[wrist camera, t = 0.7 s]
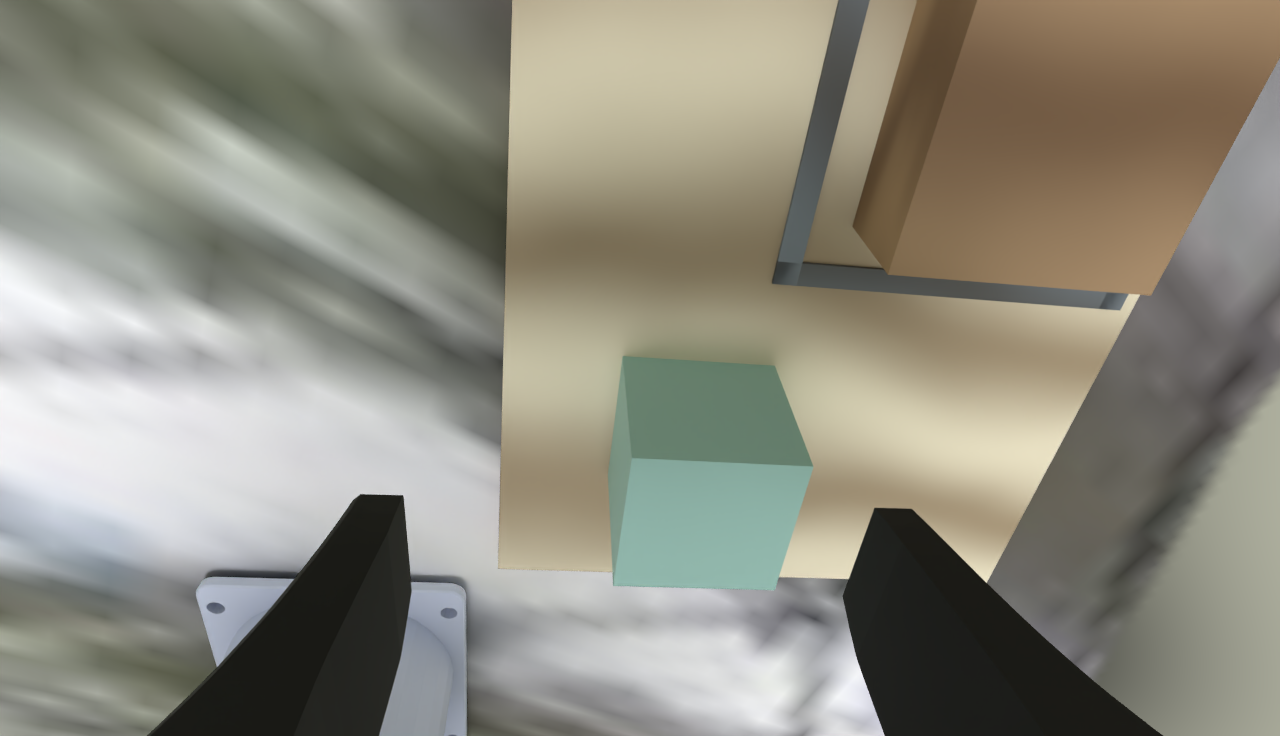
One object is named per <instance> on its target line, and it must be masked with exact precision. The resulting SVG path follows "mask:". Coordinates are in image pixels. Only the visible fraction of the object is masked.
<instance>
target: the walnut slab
mask: <svg viewBox="0 0 1280 736" xmlns="http://www.w3.org/2000/svg"><path fill="white" fill-rule="evenodd" d="M1279 58H1280V0H917V3H916V6H915V10H914V13H913V17H912V20H911V24H910V27H909V31H908V34H907V37H906V41H905V44H904V48H903V51H902V55H901V58H900V62H899V65H898V69H897V72H896V76H895V79H894V83H893V86H892V90H891V93H890V97H889V100H888V104H887V107H886V111H885V114H884V118H883V121H882V125H881V128H880V132H879V135H878V138H877V142H876V145H875V149H874V152H873V156H872V159H871V163H870V166H869V170H868V173H867V177H866V180H865V184H864V187H863V191H862V194H861V198H860V201H859V205H858V208H857V212H856V215H855V219H854V222H853V226H852V227H853V228H854V229H855V231H856V232H857V234H858V235H859V236H860V238H861V239H862V240H863V242H864V243H865V244H866V246H867V247H868V248H869V250H870V251H871V253H872V254H873V255H874V257H875V258H876V259H877V261H878V262H879V263H880V265H881V266H882V267H883V269H884V270H885V272H886V273H887V274H888V275H898V276H911V277H923V278H936V279H949V280H961V281H974V282H986V283H999V284H1012V285H1024V286H1037V287H1049V288H1062V289H1075V290H1087V291H1100V292H1113V293H1125V294H1138V295H1150V296H1151V294H1152V292H1153V291H1154V289H1155V287H1156V285H1157V283H1158V281H1159V279H1160V278H1161V276H1162V274H1163V272H1164V270H1165V268H1166V267H1167V265H1168V263H1169V261H1170V259H1171V257H1172V256H1173V254H1174V252H1175V250H1176V248H1177V246H1178V244H1179V243H1180V241H1181V239H1182V237H1183V235H1184V233H1185V232H1186V230H1187V228H1188V226H1189V224H1190V222H1191V220H1192V219H1193V217H1194V215H1195V213H1196V211H1197V209H1198V208H1199V206H1200V204H1201V202H1202V200H1203V198H1204V196H1205V195H1206V193H1207V191H1208V189H1209V187H1210V185H1211V184H1212V182H1213V180H1214V178H1215V176H1216V174H1217V172H1218V171H1219V169H1220V167H1221V165H1222V163H1223V161H1224V160H1225V158H1226V156H1227V154H1228V152H1229V150H1230V148H1231V147H1232V145H1233V143H1234V141H1235V139H1236V137H1237V136H1238V134H1239V132H1240V130H1241V128H1242V126H1243V124H1244V123H1245V121H1246V119H1247V117H1248V115H1249V113H1250V112H1251V110H1252V108H1253V106H1254V104H1255V102H1256V100H1257V99H1258V97H1259V95H1260V93H1261V91H1262V89H1263V88H1264V86H1265V84H1266V82H1267V80H1268V78H1269V76H1270V75H1271V73H1272V71H1273V69H1274V67H1275V65H1276V64H1277V62H1278V60H1279Z"/></svg>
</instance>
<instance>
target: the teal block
mask: <svg viewBox="0 0 1280 736" xmlns="http://www.w3.org/2000/svg"><path fill="white" fill-rule="evenodd" d="M813 467H814V466H813V464H812V461H811V459H810V456H809V453H808V451H807V448H806V446H805V443H804V440H803V438H802V435H801V433H800V430H799V427H798V425H797V422H796V420H795V417H794V414H793V412H792V409H791V407H790V404H789V401H788V399H787V396H786V394H785V391H784V388H783V386H782V383H781V381H780V378H779V376H778V373H777V370H776V368H775V366H772V365H756V364H740V363H724V362H708V361H692V360H676V359H661V358H645V357H629V356H623V357H622V365H621V373H620V381H619V389H618V397H617V405H616V413H615V421H614V429H613V437H612V445H611V453H610V461H609V469H608V489H609V509H610V530H611V550H612V571H613V586H639V587H676V588H713V589H750V590H775V588H776V584H777V581H778V578H779V575H780V572H781V569H782V565H783V562H784V559H785V556H786V553H787V550H788V546H789V543H790V540H791V537H792V534H793V531H794V527H795V524H796V521H797V518H798V515H799V511H800V508H801V505H802V502H803V499H804V496H805V492H806V489H807V486H808V483H809V480H810V477H811V473H812V470H813Z"/></svg>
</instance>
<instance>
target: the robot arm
mask: <svg viewBox="0 0 1280 736" xmlns="http://www.w3.org/2000/svg"><path fill="white" fill-rule="evenodd" d="M196 598H197V601H198V604H199V608H200V611H201V615H202V618H203V622H204V625H205V628H206V632H207V635H208V639H209V642H210V645H211V649H212V652H213V656H214V659H215V663H216V666H217V668H216V669H215V670H214V671H213V672H212V673H211V674H210V675H209V676H208V677H207V678H206V679H205V680H204V681H203V682H202V683H201V684H200V685H199V686H198V687H197V688H196V689H195V690H194V691H193V692H192V693H191V694H190V695H189V696H188V697H187V698H186V699H185V700H184V701H183V702H182V703H181V704H180V705H179V706H178V707H177V708H176V709H175V710H174V711H173V712H172V713H171V714H170V715H168V716H167V717H166V718H165V719H164V720H163V721H162V722H161V723H160V724H159V725H158V726H157V727H156V728H155V729H154V730H153V731H152V732H151V733H149V734H148V735H147V736H467V644H466V592H465V590H464V589H463V588H462V587H461V586H459V585H457V584H453V583H430V582H411V577H410V565H409V554H408V543H407V531H406V520H405V509H404V498H403V495H365V494H360V495H359V496H358V497H357V498H355V499H354V500H353V501H352V503H351V504H350V505H349V507H348V508H347V510H346V511H345V513H344V514H343V516H342V517H341V518H340V520H339V521H338V523H337V524H336V525H335V527H334V528H333V530H332V531H331V532H330V534H329V535H328V536H327V538H326V539H325V540H324V542H323V543H322V544H321V546H320V547H319V548H318V550H317V551H316V552H315V553H314V555H313V556H312V557H311V559H310V560H309V561H308V563H307V564H306V565H305V566H304V568H303V569H302V570H301V571H300V573H299V574H298V575H297V576H296V577H295V579H280V578H242V577H209V578H206V579H204V580H202V582H201V583H200V584H199V586H198V588H197V590H196ZM843 600H844V604H845V609H846V614H847V618H848V623H849V628H850V632H851V636H852V640H853V644H854V648H855V653H856V657H857V660H858V663H859V666H860V669H861V671H862V674H863V677H864V680H865V683H866V685H867V688H868V691H869V694H870V696H871V699H872V702H873V705H874V707H875V710H876V713H877V716H878V718H879V721H880V724H881V726H882V729H883V732H884V734H885V736H1163V735H1161V734H1160V733H1159V732H1157V731H1156V730H1155V729H1153V728H1152V727H1151V726H1149V725H1148V724H1147V723H1146V722H1144V721H1143V720H1142V719H1140V718H1139V717H1138V716H1137V715H1135V714H1134V713H1133V712H1132V711H1130V710H1129V709H1128V708H1127V707H1125V706H1124V705H1123V704H1121V703H1120V702H1119V701H1118V700H1116V699H1115V698H1114V697H1112V696H1111V695H1110V694H1109V693H1108V692H1106V691H1105V690H1104V689H1103V688H1101V687H1100V686H1099V685H1098V684H1097V683H1095V682H1094V681H1093V680H1092V679H1091V678H1089V677H1088V676H1087V675H1086V674H1085V673H1084V672H1082V671H1081V670H1080V669H1079V668H1078V667H1077V666H1076V665H1074V664H1073V663H1072V662H1071V661H1070V660H1069V659H1068V658H1066V657H1065V656H1064V655H1063V654H1062V653H1061V652H1060V651H1059V650H1057V649H1056V648H1055V647H1054V646H1053V645H1052V644H1051V643H1049V642H1048V641H1047V640H1046V639H1045V638H1044V637H1043V636H1042V635H1041V634H1040V633H1038V632H1037V631H1036V630H1035V629H1034V628H1033V627H1032V626H1031V625H1030V624H1029V623H1028V622H1027V621H1026V620H1024V619H1023V618H1022V617H1021V616H1020V615H1019V614H1018V613H1017V612H1016V611H1015V610H1014V609H1013V608H1012V607H1011V606H1010V605H1009V604H1008V603H1007V602H1006V601H1005V600H1004V599H1003V598H1001V597H1000V596H999V595H998V594H997V593H996V592H995V591H994V590H993V589H992V588H991V587H990V586H989V585H988V584H987V583H986V582H985V581H984V580H983V579H982V578H981V577H980V576H979V575H978V574H977V573H976V572H975V571H974V570H973V569H972V568H971V567H970V566H969V565H968V564H967V563H966V562H965V561H964V560H963V559H962V558H961V557H960V556H959V555H958V554H957V553H956V552H955V551H954V550H953V549H952V548H951V547H950V546H949V545H948V544H947V543H946V542H945V541H944V540H943V539H942V538H941V537H940V536H939V535H938V534H937V533H936V532H935V531H934V530H933V529H932V528H931V527H930V526H929V525H928V524H927V523H926V522H925V521H924V520H923V519H922V518H921V517H920V516H919V515H918V514H917V513H916V512H915V511H914V510H913V509H907V508H874V510H873V513H872V516H871V519H870V522H869V524H868V527H867V530H866V533H865V535H864V538H863V541H862V544H861V547H860V549H859V552H858V555H857V558H856V560H855V563H854V566H853V569H852V572H851V574H850V577H849V580H848V583H847V585H846V588H845V591H844V594H843ZM450 608H451V609H450Z"/></svg>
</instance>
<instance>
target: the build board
mask: <svg viewBox="0 0 1280 736" xmlns="http://www.w3.org/2000/svg"><path fill="white" fill-rule="evenodd" d="M916 3H917V0H512V34H511V74H510V114H509V154H508V194H507V233H506V273H505V313H504V353H503V393H502V432H501V472H500V512H499V552H498V569H523V570H557V571H592V572H613V571H612V550H611V530H610V509H609V489H608V469H609V461H610V453H611V445H612V437H613V429H614V421H615V413H616V405H617V397H618V389H619V381H620V373H621V365H622V357H623V356H629V357H645V358H661V359H676V360H692V361H708V362H724V363H740V364H756V365H772V366H775V368H776V370H777V373H778V376H779V378H780V381H781V383H782V386H783V388H784V391H785V394H786V396H787V399H788V401H789V404H790V407H791V409H792V412H793V414H794V417H795V420H796V422H797V425H798V427H799V430H800V433H801V435H802V438H803V440H804V443H805V446H806V448H807V451H808V453H809V456H810V459H811V461H812V464H813V466H814V467H813V470H812V473H811V477H810V480H809V483H808V486H807V489H806V492H805V496H804V499H803V502H802V505H801V508H800V511H799V515H798V518H797V521H796V524H795V527H794V531H793V534H792V537H791V540H790V543H789V546H788V550H787V553H786V556H785V559H784V562H783V565H782V569H781V572H780V575H779V577H799V578H833V579H849V577H850V574H851V572H852V569H853V566H854V563H855V560H856V558H857V555H858V552H859V549H860V547H861V544H862V541H863V538H864V535H865V533H866V530H867V527H868V524H869V522H870V519H871V516H872V513H873V510H874V508H907V509H913V510H914V511H915V512H916V513H917V514H918V515H919V516H920V517H921V518H922V519H923V520H924V521H925V522H926V523H927V524H928V525H929V526H930V527H931V528H932V529H933V530H934V531H935V532H936V533H937V534H938V535H939V536H940V537H941V538H942V539H943V540H944V541H945V542H946V543H947V544H948V545H949V546H950V547H951V548H952V549H953V550H954V551H955V552H956V553H957V554H958V555H959V556H960V557H961V558H962V559H963V560H964V561H965V562H966V563H967V564H968V565H969V566H970V567H971V568H972V569H973V570H974V571H975V572H976V573H977V574H978V575H979V576H980V577H981V578H982V579H983V580H984V581H985V582H986V583H987V581H988V579H989V577H990V575H991V573H992V572H993V570H994V568H995V566H996V564H997V562H998V560H999V558H1000V557H1001V555H1002V553H1003V551H1004V549H1005V547H1006V545H1007V543H1008V542H1009V540H1010V538H1011V536H1012V534H1013V532H1014V530H1015V528H1016V527H1017V525H1018V523H1019V521H1020V519H1021V517H1022V515H1023V513H1024V512H1025V510H1026V508H1027V506H1028V504H1029V502H1030V500H1031V498H1032V497H1033V495H1034V493H1035V491H1036V489H1037V487H1038V485H1039V483H1040V482H1041V480H1042V478H1043V476H1044V474H1045V472H1046V470H1047V468H1048V467H1049V465H1050V463H1051V461H1052V459H1053V457H1054V455H1055V453H1056V451H1057V450H1058V448H1059V446H1060V444H1061V442H1062V440H1063V438H1064V436H1065V435H1066V433H1067V431H1068V429H1069V427H1070V425H1071V423H1072V421H1073V420H1074V418H1075V416H1076V414H1077V412H1078V410H1079V408H1080V406H1081V405H1082V403H1083V401H1084V399H1085V397H1086V395H1087V393H1088V391H1089V390H1090V388H1091V386H1092V384H1093V382H1094V380H1095V378H1096V376H1097V375H1098V373H1099V371H1100V369H1101V367H1102V365H1103V363H1104V361H1105V360H1106V358H1107V356H1108V354H1109V352H1110V350H1111V348H1112V346H1113V345H1114V343H1115V341H1116V339H1117V337H1118V335H1119V333H1120V331H1121V329H1122V328H1123V326H1124V324H1125V322H1126V320H1127V318H1128V316H1129V314H1130V313H1131V311H1132V309H1133V307H1134V305H1135V303H1136V301H1137V299H1138V298H1139V296H1140V295H1138V294H1125V293H1113V292H1100V291H1087V290H1075V289H1062V288H1049V287H1037V286H1024V285H1012V284H999V283H986V282H974V281H961V280H949V279H936V278H923V277H911V276H898V275H888V274H887V273H886V272H885V270H884V269H883V267H882V266H881V265H880V263H879V262H878V261H877V259H876V258H875V257H874V255H873V254H872V253H871V251H870V250H869V248H868V247H867V246H866V244H865V243H864V242H863V240H862V239H861V238H860V236H859V235H858V234H857V232H856V231H855V229H854V228H853V227H852V226H853V222H854V219H855V215H856V212H857V208H858V205H859V201H860V198H861V194H862V191H863V187H864V184H865V180H866V177H867V173H868V170H869V166H870V163H871V159H872V156H873V152H874V149H875V145H876V142H877V138H878V135H879V132H880V128H881V125H882V121H883V118H884V114H885V111H886V107H887V104H888V100H889V97H890V93H891V90H892V86H893V83H894V79H895V76H896V72H897V69H898V65H899V62H900V58H901V55H902V51H903V48H904V44H905V41H906V37H907V34H908V31H909V27H910V24H911V20H912V17H913V13H914V10H915V6H916Z"/></svg>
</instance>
